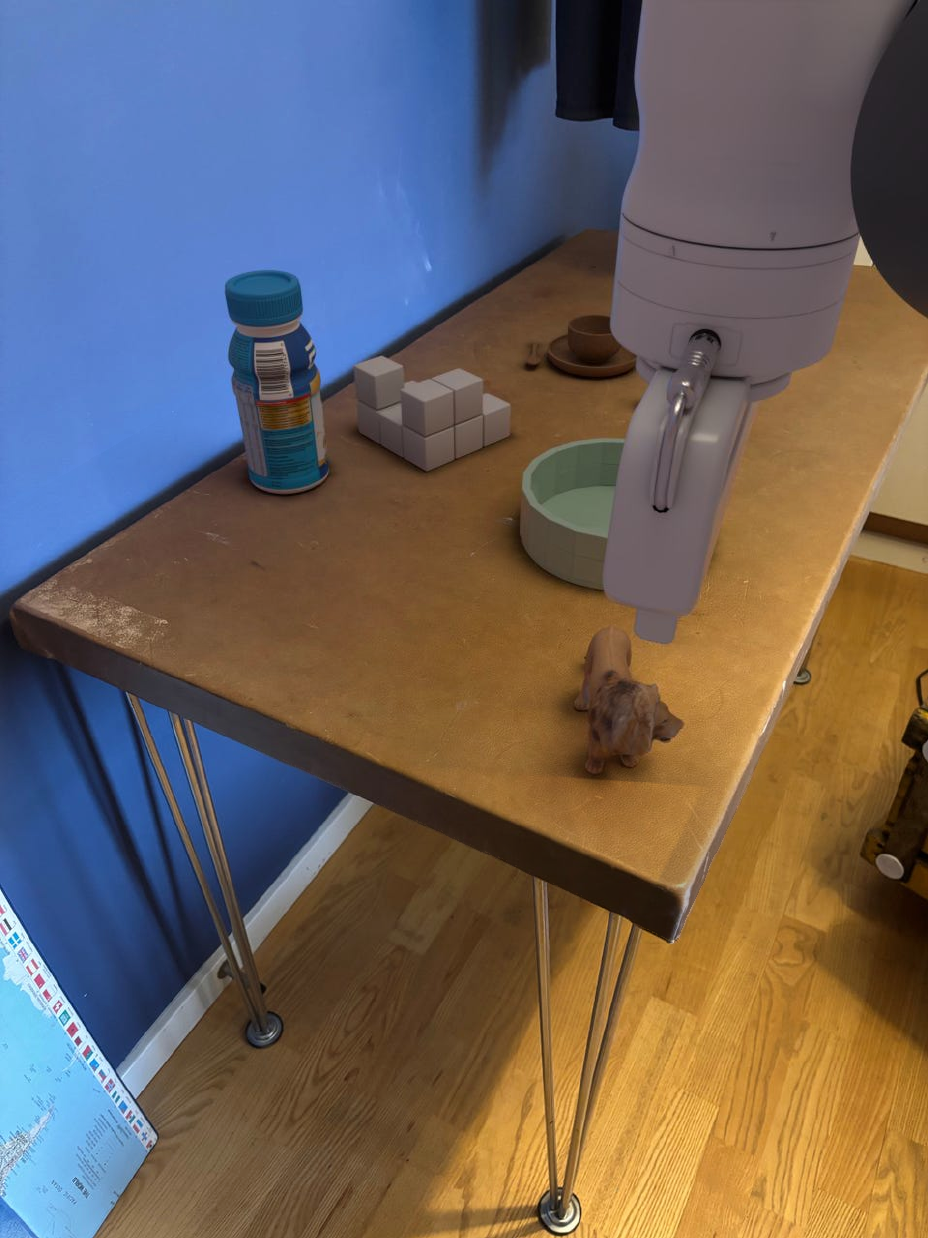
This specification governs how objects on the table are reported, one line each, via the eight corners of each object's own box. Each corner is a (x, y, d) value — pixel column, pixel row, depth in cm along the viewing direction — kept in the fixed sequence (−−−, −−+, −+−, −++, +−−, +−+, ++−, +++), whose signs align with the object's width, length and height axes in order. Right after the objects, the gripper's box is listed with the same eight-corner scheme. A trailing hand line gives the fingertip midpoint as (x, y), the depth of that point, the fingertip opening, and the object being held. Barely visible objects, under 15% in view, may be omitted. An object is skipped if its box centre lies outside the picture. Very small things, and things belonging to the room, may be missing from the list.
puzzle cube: (510, 436, 101) (512, 367, 96) (426, 472, 95) (423, 401, 90) (440, 400, 108) (439, 335, 103) (358, 432, 102) (352, 364, 97)
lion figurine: (675, 806, 60) (696, 708, 54) (596, 815, 60) (609, 717, 54) (616, 660, 71) (628, 566, 66) (550, 666, 71) (556, 573, 65)
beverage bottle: (231, 483, 93) (193, 286, 81) (284, 449, 99) (256, 260, 86) (296, 505, 90) (267, 303, 77) (347, 468, 95) (327, 274, 83)
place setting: (661, 345, 120) (667, 300, 117) (673, 413, 105) (680, 364, 101) (528, 341, 122) (530, 297, 118) (520, 407, 106) (522, 359, 102)
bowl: (726, 508, 89) (736, 457, 85) (687, 611, 76) (697, 557, 73) (555, 473, 94) (557, 425, 91) (492, 565, 82) (492, 512, 78)
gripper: (778, 416, 28) (704, 735, 36) (827, 229, 42) (766, 488, 51) (576, 384, 29) (552, 696, 38) (691, 216, 44) (655, 468, 53)
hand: (675, 575), depth 45 cm, fingers open, 8 cm apart
